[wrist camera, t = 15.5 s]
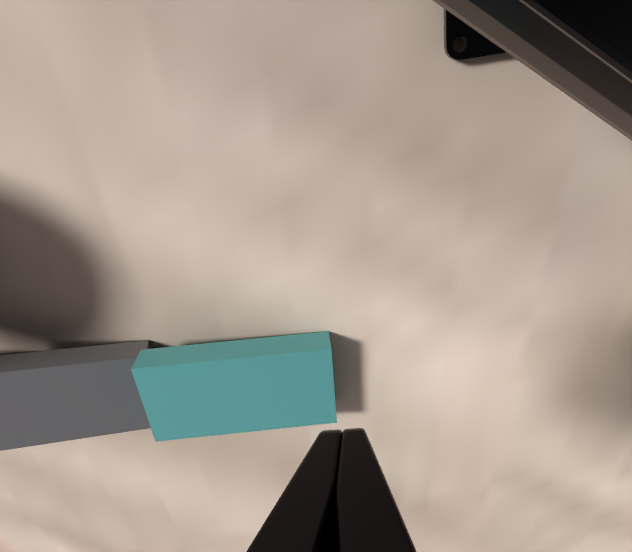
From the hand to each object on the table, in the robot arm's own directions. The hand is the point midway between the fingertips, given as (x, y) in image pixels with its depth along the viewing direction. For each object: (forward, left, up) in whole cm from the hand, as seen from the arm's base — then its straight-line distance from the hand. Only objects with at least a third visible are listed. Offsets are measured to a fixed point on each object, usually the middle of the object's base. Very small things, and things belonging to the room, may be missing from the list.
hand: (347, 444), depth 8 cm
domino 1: (+13, +8, -12) cm, 19 cm away
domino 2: (+2, +9, -12) cm, 15 cm away
